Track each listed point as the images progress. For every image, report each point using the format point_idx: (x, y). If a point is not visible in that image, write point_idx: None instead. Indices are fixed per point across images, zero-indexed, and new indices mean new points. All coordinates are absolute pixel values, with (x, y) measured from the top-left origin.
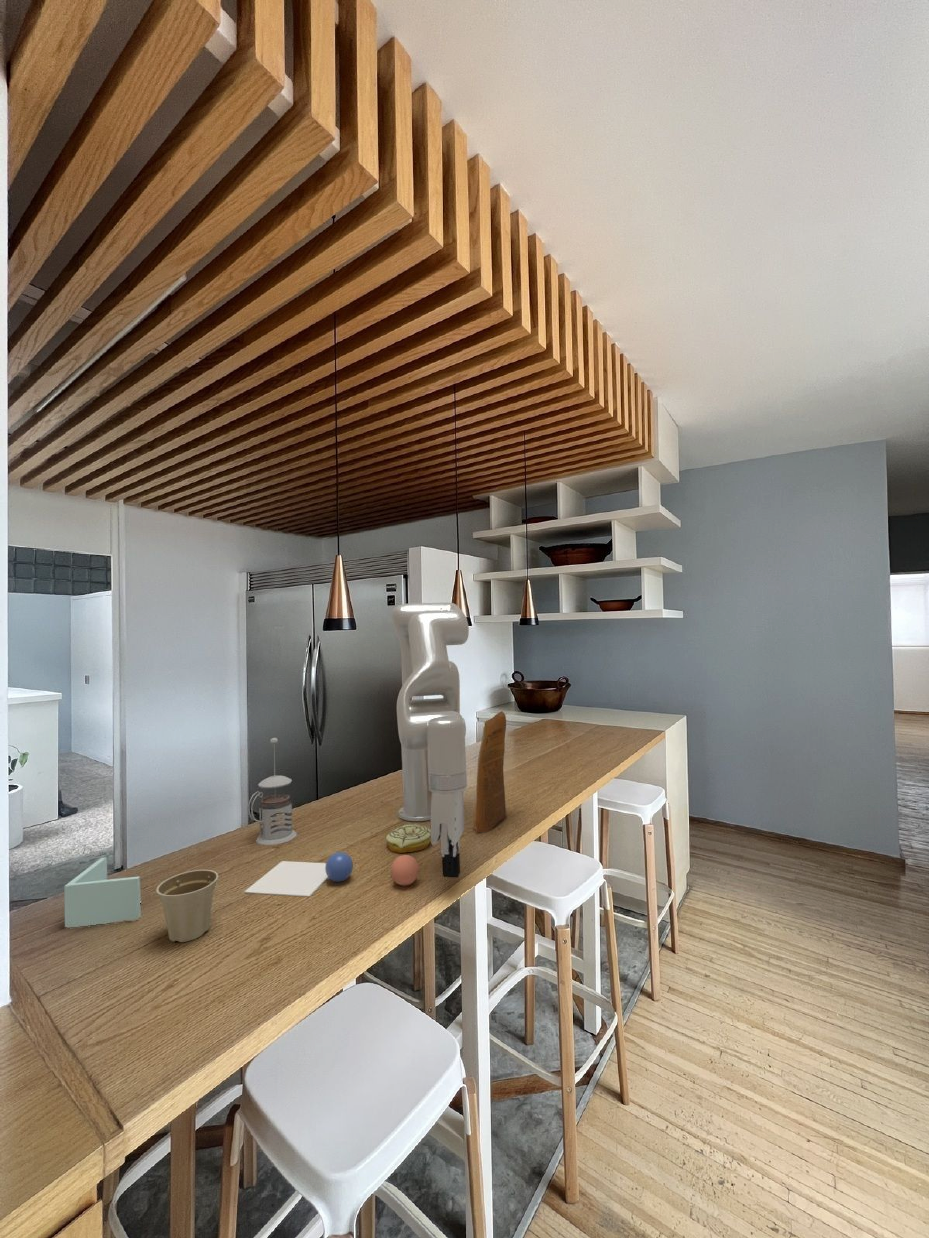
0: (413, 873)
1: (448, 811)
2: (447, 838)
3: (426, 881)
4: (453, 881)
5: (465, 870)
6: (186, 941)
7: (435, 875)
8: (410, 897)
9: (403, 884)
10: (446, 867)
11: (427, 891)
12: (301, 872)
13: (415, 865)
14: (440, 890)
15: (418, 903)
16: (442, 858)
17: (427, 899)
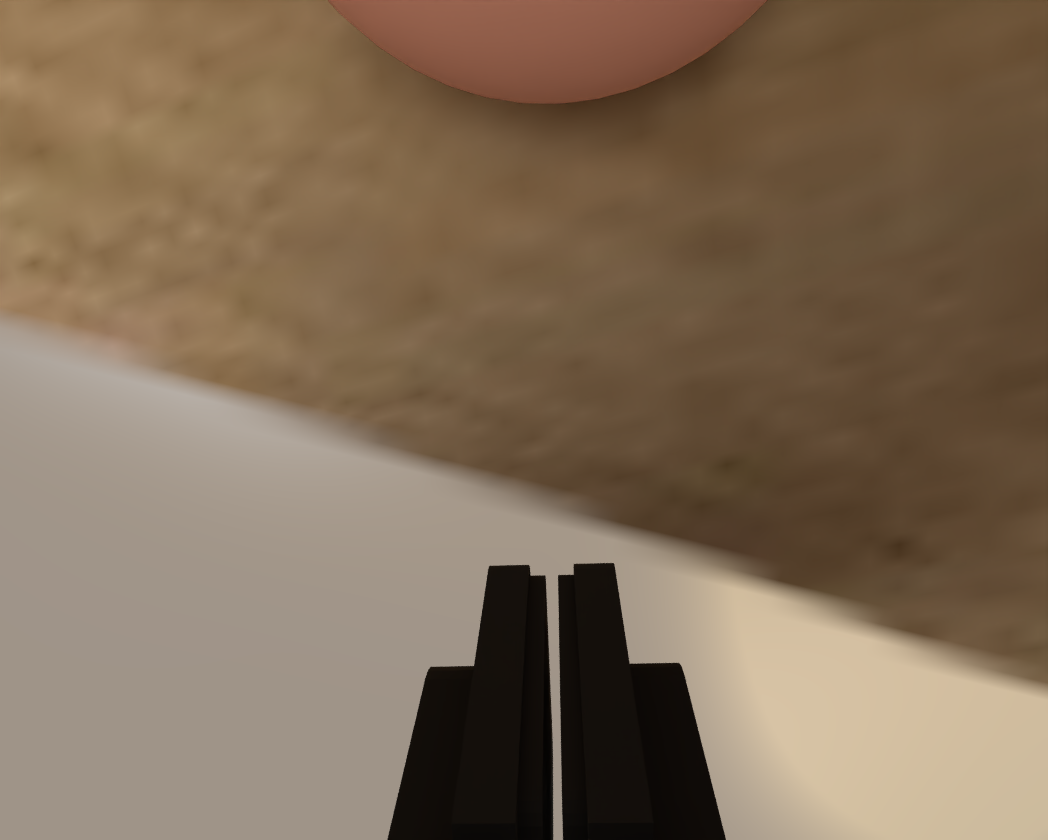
0: (393, 55)
1: None
2: None
3: (672, 204)
4: (699, 550)
5: (1004, 622)
6: None
7: (868, 282)
8: (184, 122)
9: None
10: (416, 741)
11: (395, 307)
12: None
13: (492, 54)
14: (454, 458)
15: (84, 286)
16: (457, 783)
17: (208, 366)
